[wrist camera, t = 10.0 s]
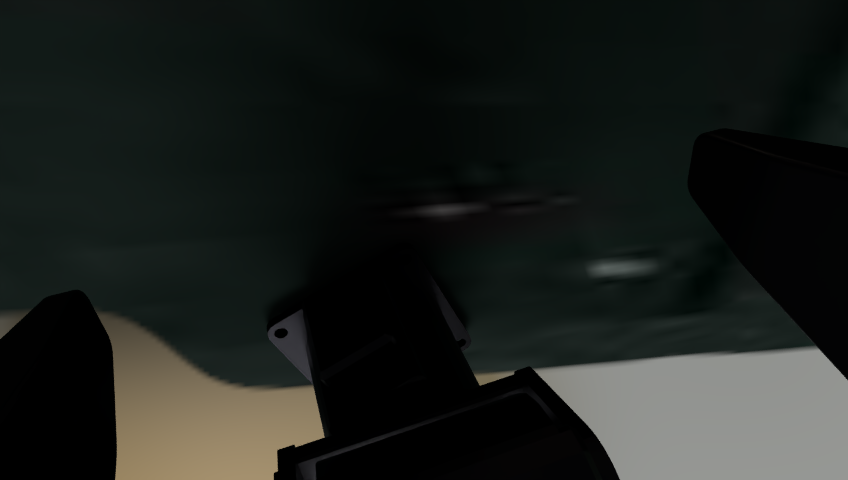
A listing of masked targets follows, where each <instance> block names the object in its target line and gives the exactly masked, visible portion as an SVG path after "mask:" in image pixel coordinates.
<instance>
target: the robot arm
mask: <svg viewBox="0 0 848 480" xmlns="http://www.w3.org/2000/svg"><path fill="white" fill-rule="evenodd" d="M688 189H689V192H690V195H691V196H692V198H693V199H694V201H695V202H696V203H697V205H698V206H699V207H700V209H701V210H702V211H703V213H704V214H705V215H706V217H707V218H708V220H709V221H710V222H711V224H712V225H713V226H714V228H715V229H716V230H717V232H718V233H719V234H720V236H721V237H722V238H723V240H724V241H725V242H726V244H727V245H728V246H729V248H730V249H731V250H732V252H733V253H734V255H735V256H736V257H737V258H738V260H739V261H740V262H741V263H742V265H743V266H744V267H745V268H746V269H747V271H748V272H749V273H750V274H751V275H752V276H753V277H754V279H755V280H756V281H757V282H758V283H759V284H760V285H761V286H762V287H763V288H764V289H765V291H766V292H767V293H768V294H769V295H770V296H771V297H772V298H773V299H774V300H775V301H776V302H777V304H778V305H779V306H780V307H781V308H782V309H783V310H784V311H785V312H786V313H787V314H788V316H789V317H790V318H791V319H792V320H793V321H794V322H795V323H796V324H797V325H798V326H799V328H800V329H801V330H802V331H803V332H804V333H805V334H806V335H807V336H808V337H809V338H810V340H811V341H812V342H813V343H814V344H815V345H816V346H817V347H818V348H819V349H820V350H821V351H822V353H823V354H824V355H825V356H826V357H827V358H828V359H829V360H830V361H831V362H832V363H833V365H834V366H835V367H836V368H837V369H838V370H839V371H840V372H841V373H842V374H843V375H844V377H846V379H847V380H848V148H844V147H838V146H832V145H826V144H820V143H813V142H807V141H801V140H795V139H789V138H783V137H776V136H770V135H764V134H758V133H752V132H745V131H739V130H733V129H726V128H724V129H718V130H714V131H710V132H706V133H703V134H701V135H699V136H698V137H697V139H696V140H695V142H694V146H693V152H692V158H691V164H690V169H689V175H688ZM404 254H409V255H408V256H407V257H406V258H405V259H400V257H401V256H402V255H404ZM280 328H285V330H284V331H281V332H277V331H276V330H277V329H280ZM267 334H268V337H269V339H270V341H271V342H272V343H273V344H274V345H275V346H276V347H277V348H278V349H279V350H280V351H281V352H282V353H283V354H284V355H285V356H286V357H287V358H288V359H289V360H290V361H291V362H292V363H293V364H294V365H295V366H296V367H297V368H298V369H299V370H300V371H301V372H302V373H303V374H304V375H305V376H306V378H307V379H308V380H309V381H310V382H311V383H312V384H313V386H314V391H315V395H316V400H317V404H318V408H319V413H320V418H321V422H322V427H323V431H324V436H325V438H322V439H319V440H316V441H313V442H310V443H307V444H304V445H301V446H298V447H295V445H292V446H289V447H286V448H282V449H279V450H278V451H277V456H278V472H275V473H274V480H620V479H619V477H618V475H617V472H616V470H615V468H614V466H613V463H612V462H611V460H610V458H609V456H608V454H607V452H606V451H605V449H604V447H603V446H602V444H601V443H600V441H599V440H598V438H597V437H596V435H595V434H594V433H593V431H592V430H591V429H590V428H589V427H588V426H587V425H586V423H585V422H584V421H583V420H582V419H581V418H580V417H579V416H578V415H577V414H576V413H575V412H574V411H573V410H572V409H571V408H570V407H569V406H568V405H567V404H566V403H565V402H564V401H563V400H562V399H561V398H560V397H559V396H558V395H557V394H556V393H555V392H554V391H553V390H552V389H551V388H550V386H548V384H547V383H546V382H545V381H544V380H543V379H542V378H541V377H540V376H539V375H538V374H537V373H536V372H535V371H534V370H533V369H532V368H531V367H530V366H529V367H526V368H523V369H520V370H517V371H515V372H514V375H511V376H508V377H505V378H502V379H499V380H496V381H493V382H490V383H487V384H484V385H481V386H480V385H479V384H478V382H477V380H476V378H475V376H474V374H473V372H472V370H471V368H470V366H469V364H468V362H467V360H466V358H465V356H464V354H463V353H462V351H464V350H465V349H466V348H468V347H469V345H470V344H471V338H470V336H469V334H468V332H467V330H466V329H465V327H464V326H463V324H462V323H461V321H460V319H459V318H458V316H457V315H456V313H455V311H454V310H453V308H452V307H451V305H450V304H449V302H448V300H447V299H446V297H445V296H444V294H443V292H442V291H441V289H440V288H439V286H438V285H437V283H436V281H435V280H434V278H433V277H432V275H431V274H430V272H429V270H428V269H427V267H426V266H425V264H424V262H423V261H422V259H421V258H420V256H419V255H418V253H417V251H416V250H415V248H414V247H413V246H412V245H411V244H408V243H401V244H398V245H396V246H394V247H393V248H391V249H389V250H388V251H386V252H384V253H383V254H381V255H379V256H378V257H376V258H374V259H373V260H371V261H369V262H367V263H366V264H364V265H362V266H361V267H359V268H356V269H355V270H353V271H351V272H350V273H348V274H346V275H344V276H343V277H341V278H339V279H338V280H336V281H334V282H333V283H331V284H329V285H328V286H326V287H324V288H323V289H321V290H319V291H318V292H316V293H314V294H312V295H311V296H309V297H307V298H306V299H304V300H303V301H302V302H300V303H298V304H297V305H295V306H293V307H292V308H290V309H288V310H287V311H285V312H283V313H282V314H280V315H278V316H276V317H275V318H273V319H272V320H271V321H269V323H268V325H267ZM459 339H461V340H460V341H457V340H459ZM116 440H117V438H116V416H115V392H114V369H113V351H112V345H111V342H110V339H109V336H108V334H107V332H106V330H105V328H104V327H103V325H102V323H101V321H100V319H99V317H98V315H97V313H96V312H95V310H94V308H93V306H92V304H91V302H90V300H89V299H88V297H87V296H86V295H85V293H83V292H82V291H80V290H72V291H68V292H64V293H60V294H56V295H52V296H48V297H46V298H44V299H43V300H42V301H41V302H40V303H39V304H38V305H37V306H36V307H34V308H33V309H32V310H31V311H30V312H29V313H28V314H27V315H26V316H25V317H24V318H23V319H22V320H21V321H19V322H18V323H17V324H16V325H15V326H14V327H13V328H12V329H11V330H10V331H9V332H8V333H7V334H6V335H5V336H3V337H2V338H1V339H0V480H115V474H116V473H115V472H116V458H117V444H116V443H117V441H116Z"/></svg>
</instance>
